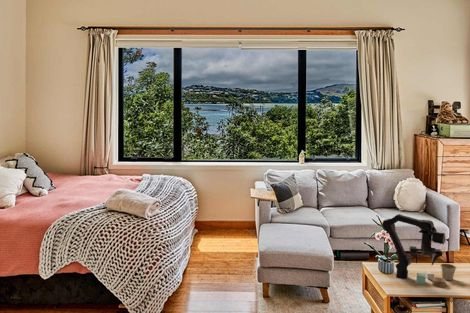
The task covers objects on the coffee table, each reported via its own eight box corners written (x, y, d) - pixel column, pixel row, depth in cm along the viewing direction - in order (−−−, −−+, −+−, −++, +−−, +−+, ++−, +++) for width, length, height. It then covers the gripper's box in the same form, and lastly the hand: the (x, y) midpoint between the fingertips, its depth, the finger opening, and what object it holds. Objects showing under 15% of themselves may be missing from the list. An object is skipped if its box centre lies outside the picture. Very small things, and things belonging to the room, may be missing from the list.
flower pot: (456, 278, 283) (457, 265, 282) (454, 283, 275) (455, 269, 274) (440, 275, 288) (441, 262, 287) (438, 279, 280) (439, 266, 279)
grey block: (427, 279, 280) (427, 273, 280) (425, 277, 284) (425, 271, 284) (433, 280, 280) (434, 274, 279) (431, 277, 284) (431, 271, 283)
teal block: (416, 283, 274) (417, 275, 274) (416, 280, 279) (416, 272, 278) (425, 284, 272) (425, 276, 272) (424, 281, 277) (425, 274, 276)
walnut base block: (432, 286, 271) (433, 280, 270) (432, 281, 277) (432, 276, 277) (445, 287, 268) (445, 282, 268) (444, 283, 275) (444, 278, 274)
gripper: (412, 242, 267) (410, 266, 269) (445, 246, 262) (442, 270, 264) (410, 237, 278) (408, 260, 280) (441, 240, 273) (439, 264, 275)
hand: (424, 264), depth 274 cm, fingers open, 9 cm apart
